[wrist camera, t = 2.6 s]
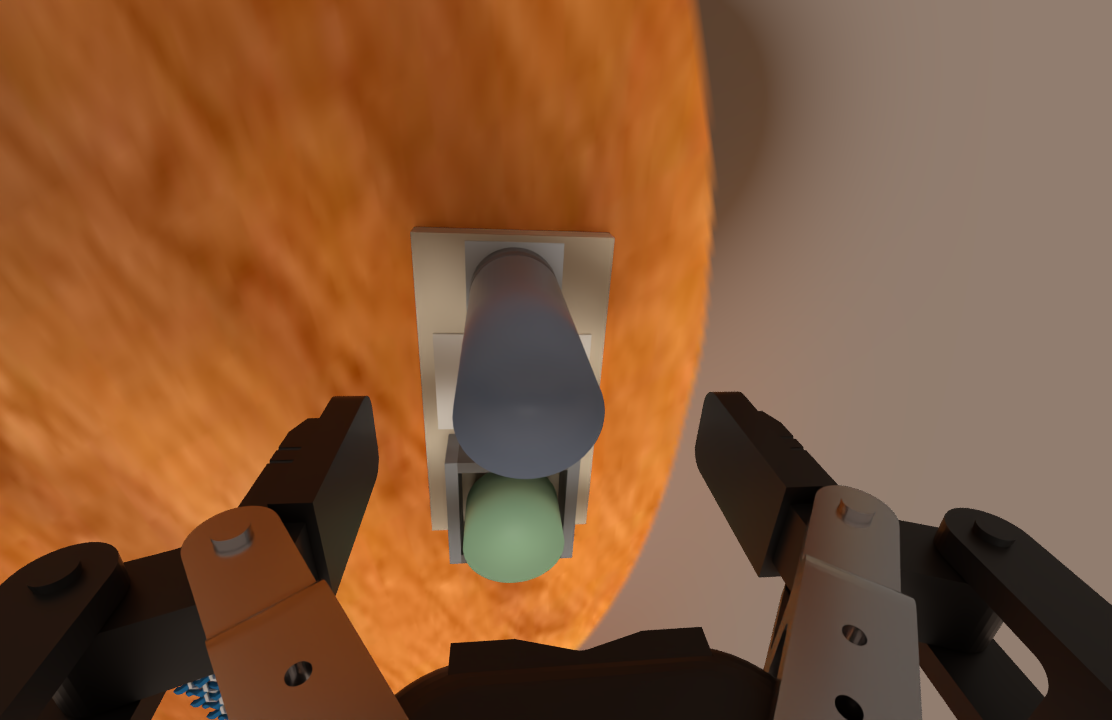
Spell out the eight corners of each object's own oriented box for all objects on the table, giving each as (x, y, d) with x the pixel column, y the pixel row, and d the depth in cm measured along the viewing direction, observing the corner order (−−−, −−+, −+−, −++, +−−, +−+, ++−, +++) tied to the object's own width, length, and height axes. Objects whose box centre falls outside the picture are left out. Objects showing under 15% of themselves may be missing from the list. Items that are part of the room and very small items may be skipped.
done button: (554, 535, 28) (561, 579, 25) (467, 539, 27) (464, 585, 24) (559, 465, 26) (567, 505, 23) (464, 467, 25) (461, 509, 22)
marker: (519, 346, 24) (537, 501, 14) (452, 295, 23) (420, 429, 13) (575, 285, 23) (635, 406, 13) (508, 228, 22) (520, 317, 12)
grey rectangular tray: (582, 509, 31) (593, 556, 27) (434, 515, 30) (427, 565, 26) (609, 232, 24) (628, 251, 20) (414, 226, 22) (400, 245, 19)
